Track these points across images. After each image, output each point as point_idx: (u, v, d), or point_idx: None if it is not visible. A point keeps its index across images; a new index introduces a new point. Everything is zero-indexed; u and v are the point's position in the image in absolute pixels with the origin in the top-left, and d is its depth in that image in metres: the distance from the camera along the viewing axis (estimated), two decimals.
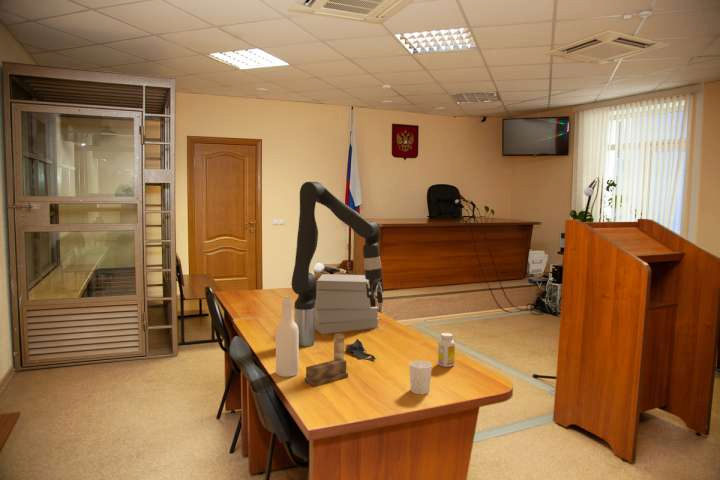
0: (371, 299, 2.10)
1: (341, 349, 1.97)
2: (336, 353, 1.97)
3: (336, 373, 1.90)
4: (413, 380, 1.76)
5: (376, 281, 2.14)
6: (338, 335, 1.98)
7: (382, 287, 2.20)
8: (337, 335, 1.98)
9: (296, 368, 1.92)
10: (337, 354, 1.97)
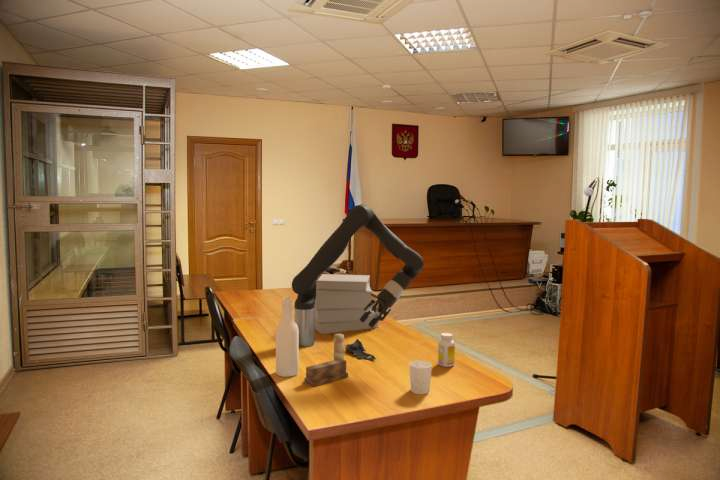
0: (376, 320, 1.99)
1: (341, 349, 1.97)
2: (336, 353, 1.97)
3: (336, 373, 1.90)
4: (413, 380, 1.76)
5: None
6: (338, 335, 1.98)
7: None
8: (337, 335, 1.98)
9: (296, 368, 1.92)
10: (337, 354, 1.97)
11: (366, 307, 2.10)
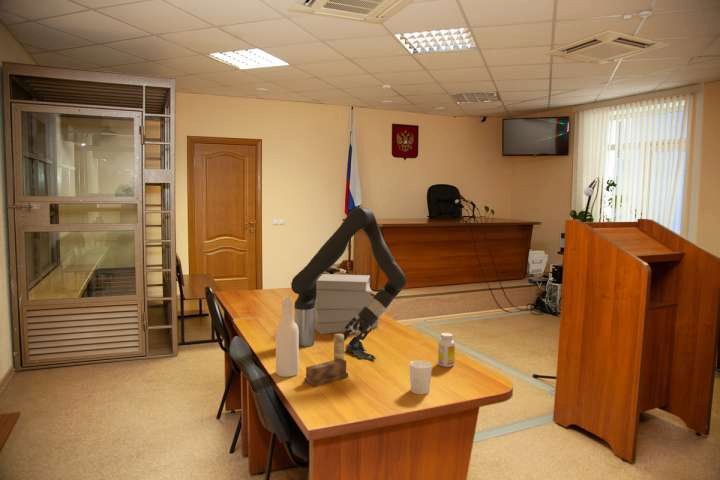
0: (356, 339, 1.96)
1: (341, 349, 1.97)
2: (336, 353, 1.97)
3: (336, 373, 1.90)
4: (413, 380, 1.76)
5: None
6: (338, 335, 1.98)
7: None
8: (337, 335, 1.98)
9: (296, 368, 1.92)
10: (337, 354, 1.97)
11: (347, 325, 2.07)
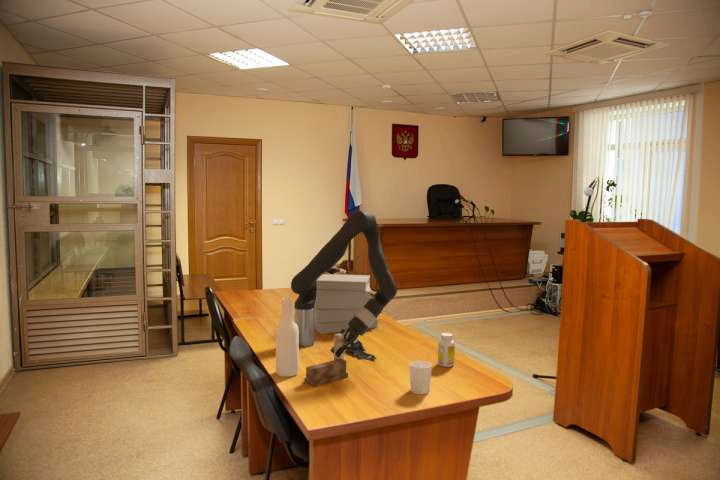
0: (342, 349, 1.96)
1: None
2: None
3: (336, 373, 1.90)
4: (413, 380, 1.76)
5: None
6: (338, 335, 1.98)
7: None
8: (337, 335, 1.98)
9: (296, 368, 1.92)
10: None
11: None
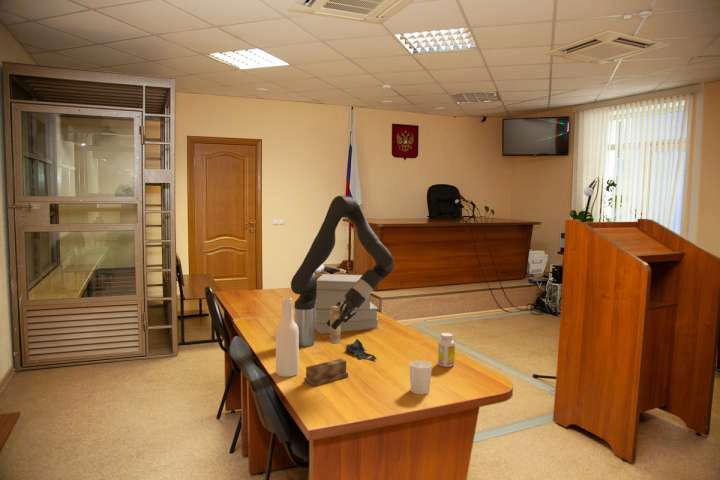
0: (339, 322, 1.90)
1: None
2: None
3: (336, 373, 1.90)
4: (413, 380, 1.76)
5: None
6: (334, 307, 1.92)
7: None
8: (333, 307, 1.92)
9: (296, 368, 1.92)
10: None
11: None
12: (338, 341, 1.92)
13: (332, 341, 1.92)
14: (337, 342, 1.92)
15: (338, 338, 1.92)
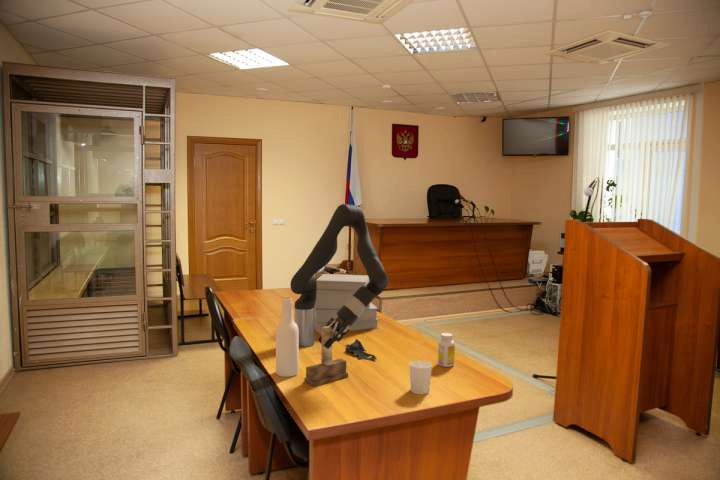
0: (332, 340, 1.84)
1: None
2: (324, 347, 1.86)
3: (336, 373, 1.90)
4: (413, 380, 1.76)
5: None
6: (326, 328, 1.87)
7: None
8: (325, 328, 1.87)
9: (296, 368, 1.92)
10: (325, 347, 1.86)
11: None
12: (329, 363, 1.87)
13: (323, 363, 1.87)
14: (328, 364, 1.87)
15: (329, 360, 1.87)
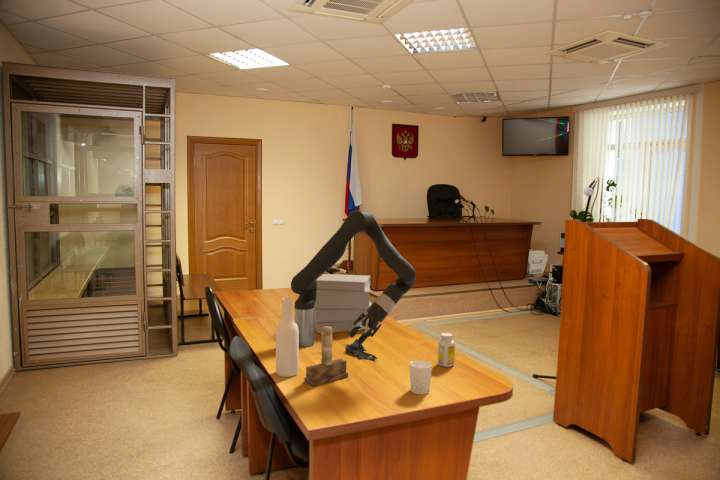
0: (366, 336, 1.88)
1: (329, 343, 1.86)
2: (324, 347, 1.86)
3: (336, 373, 1.90)
4: (413, 380, 1.76)
5: None
6: (326, 328, 1.87)
7: None
8: (325, 328, 1.87)
9: (296, 368, 1.92)
10: (325, 347, 1.86)
11: (356, 321, 1.99)
12: (329, 363, 1.87)
13: (323, 363, 1.87)
14: (328, 364, 1.87)
15: (329, 360, 1.87)
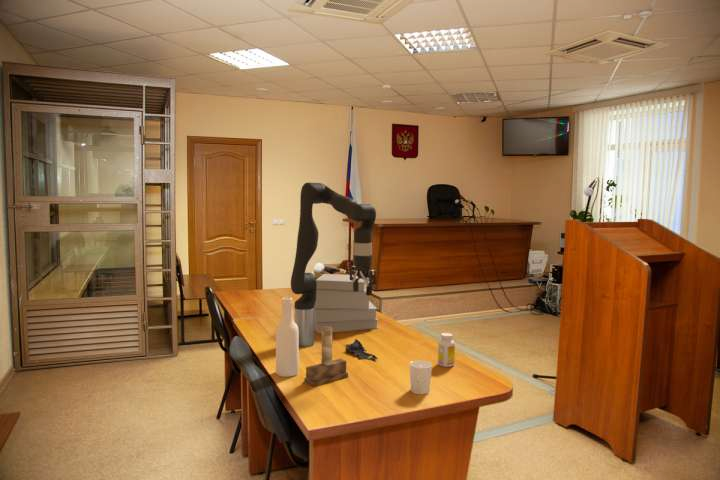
0: (370, 287, 1.97)
1: (329, 343, 1.86)
2: (324, 347, 1.86)
3: (336, 373, 1.90)
4: (413, 380, 1.76)
5: None
6: (326, 328, 1.87)
7: None
8: (325, 328, 1.87)
9: (296, 368, 1.92)
10: (325, 347, 1.86)
11: (350, 276, 2.05)
12: (329, 363, 1.87)
13: (323, 363, 1.87)
14: (328, 364, 1.87)
15: (329, 360, 1.87)
